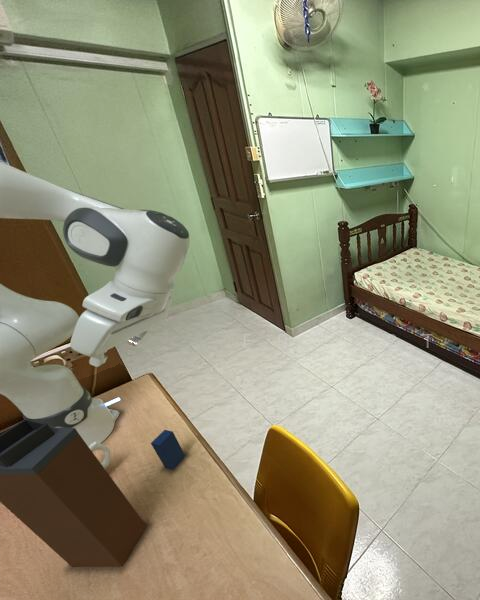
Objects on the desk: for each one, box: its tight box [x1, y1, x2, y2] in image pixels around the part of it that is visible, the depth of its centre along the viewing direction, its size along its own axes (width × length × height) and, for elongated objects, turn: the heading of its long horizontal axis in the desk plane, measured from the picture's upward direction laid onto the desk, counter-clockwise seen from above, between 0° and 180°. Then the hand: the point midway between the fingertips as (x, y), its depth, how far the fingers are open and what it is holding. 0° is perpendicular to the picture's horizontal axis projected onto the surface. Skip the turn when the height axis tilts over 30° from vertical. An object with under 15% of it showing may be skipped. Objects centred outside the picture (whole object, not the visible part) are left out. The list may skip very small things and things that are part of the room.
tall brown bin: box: [0, 418, 148, 568], centre depth 57 cm, size 10×7×35 cm
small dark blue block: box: [150, 429, 186, 471], centre depth 79 cm, size 2×4×10 cm, turn 168°
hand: (116, 353), depth 63 cm, fingers open, 8 cm apart
